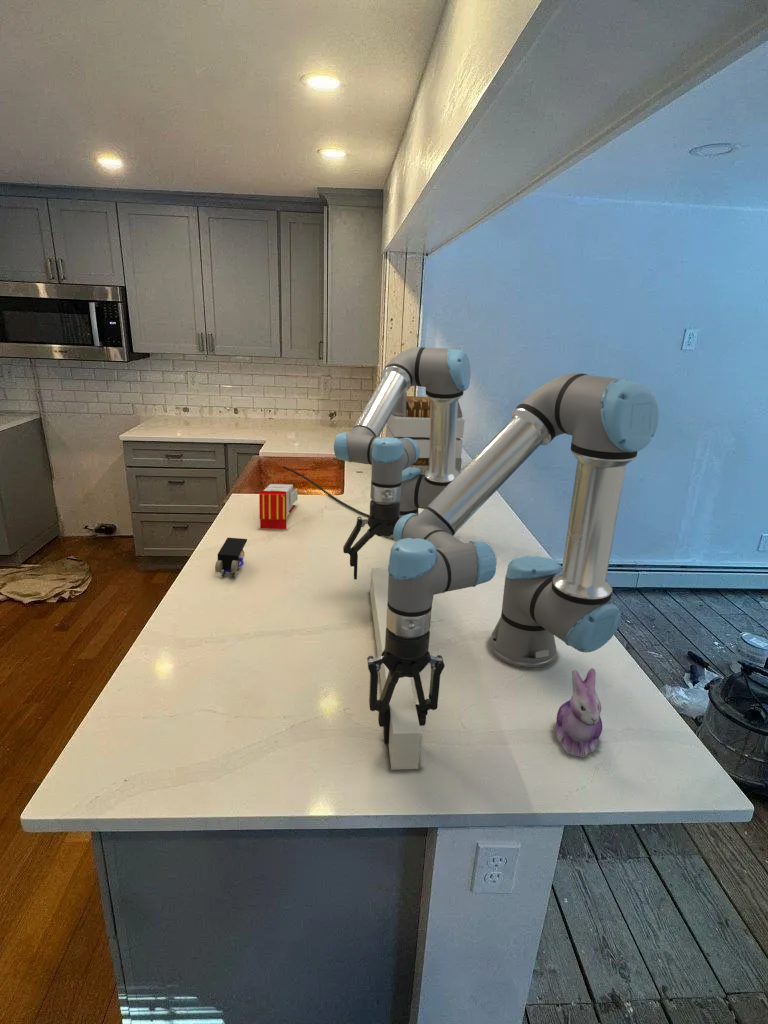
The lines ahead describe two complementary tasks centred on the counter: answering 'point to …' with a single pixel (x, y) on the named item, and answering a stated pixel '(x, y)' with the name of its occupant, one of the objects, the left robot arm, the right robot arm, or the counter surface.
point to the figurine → (580, 717)
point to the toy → (276, 505)
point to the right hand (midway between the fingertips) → (400, 738)
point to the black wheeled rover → (230, 556)
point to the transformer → (419, 426)
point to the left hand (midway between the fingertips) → (381, 577)
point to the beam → (402, 701)
